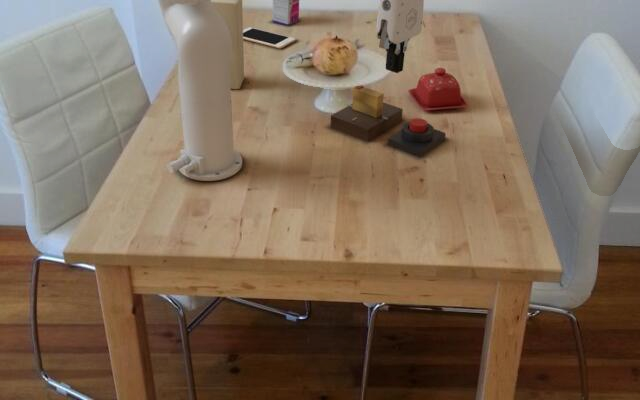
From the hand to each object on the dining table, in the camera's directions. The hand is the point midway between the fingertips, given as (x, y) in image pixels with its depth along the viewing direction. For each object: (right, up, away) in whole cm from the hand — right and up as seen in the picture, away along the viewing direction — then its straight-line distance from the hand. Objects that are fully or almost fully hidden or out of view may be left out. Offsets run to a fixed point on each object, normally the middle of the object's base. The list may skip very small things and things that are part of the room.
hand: (394, 70), depth 151 cm
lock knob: (-5, -7, +11) cm, 14 cm away
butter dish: (+12, -4, +23) cm, 27 cm away
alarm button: (+5, -12, +5) cm, 14 cm away
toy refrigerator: (-38, +2, +31) cm, 49 cm away
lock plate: (-5, -10, +13) cm, 17 cm away
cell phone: (-30, +18, +56) cm, 66 cm away
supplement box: (-25, +26, +68) cm, 77 cm away
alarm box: (+5, -14, +6) cm, 16 cm away
